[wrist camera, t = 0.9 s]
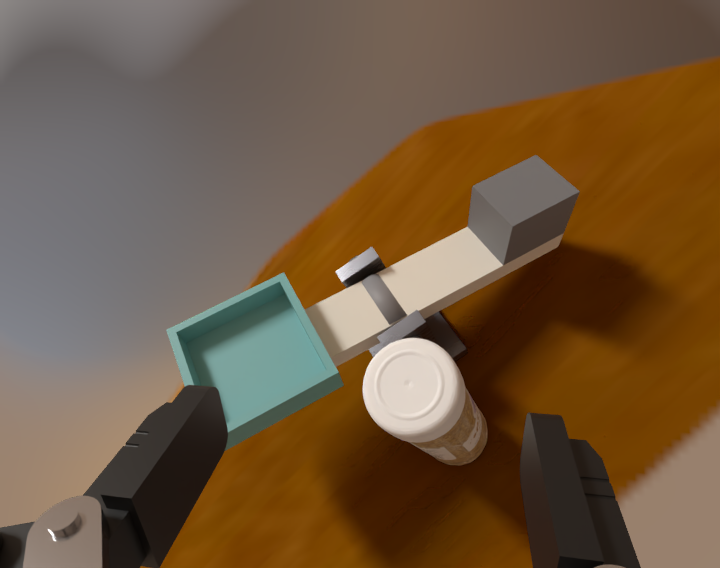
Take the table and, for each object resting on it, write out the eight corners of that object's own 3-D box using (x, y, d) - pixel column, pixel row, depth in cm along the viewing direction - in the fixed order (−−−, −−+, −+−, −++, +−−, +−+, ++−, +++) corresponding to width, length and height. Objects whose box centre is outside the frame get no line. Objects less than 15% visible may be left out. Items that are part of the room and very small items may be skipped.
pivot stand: (410, 276, 39) (385, 228, 32) (468, 352, 34) (452, 315, 28) (350, 317, 39) (313, 278, 32) (400, 398, 34) (369, 371, 28)
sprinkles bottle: (503, 437, 31) (482, 391, 20) (449, 481, 31) (398, 459, 20) (458, 384, 34) (416, 315, 22) (408, 425, 33) (341, 377, 22)
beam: (504, 197, 37) (516, 138, 32) (577, 268, 32) (603, 212, 28) (191, 355, 32) (150, 313, 27) (228, 461, 28) (188, 434, 23)
